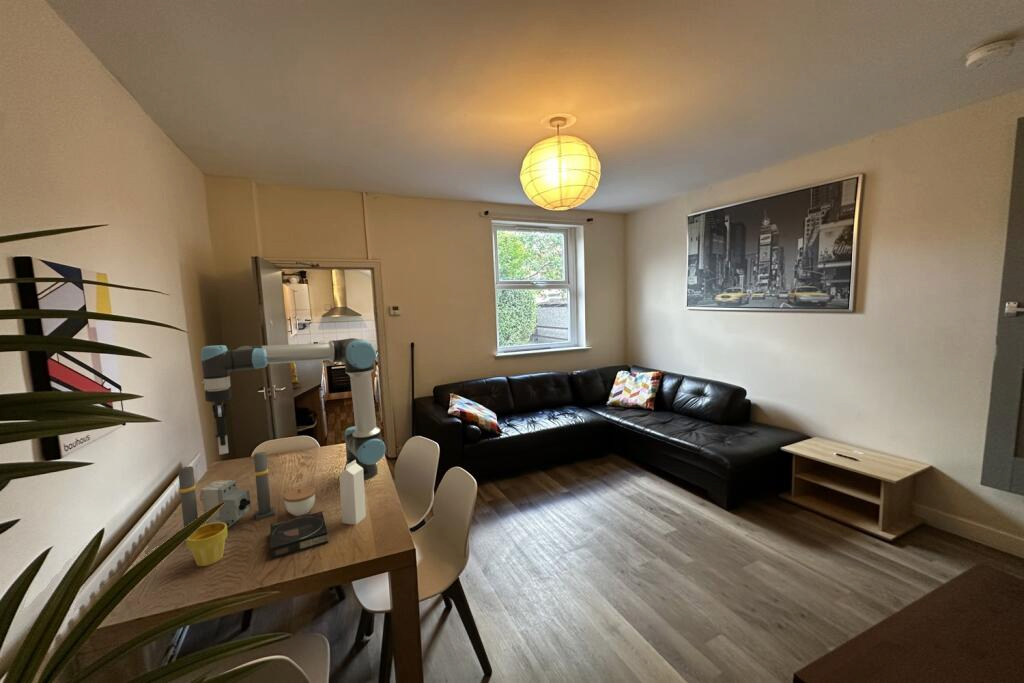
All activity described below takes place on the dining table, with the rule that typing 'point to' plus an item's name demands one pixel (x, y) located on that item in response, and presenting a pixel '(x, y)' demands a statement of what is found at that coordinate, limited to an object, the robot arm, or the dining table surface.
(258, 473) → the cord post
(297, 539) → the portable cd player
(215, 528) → the plant pot
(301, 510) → the lidded jar
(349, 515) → the milk
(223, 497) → the circuit breaker
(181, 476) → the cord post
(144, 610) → the dining table surface
